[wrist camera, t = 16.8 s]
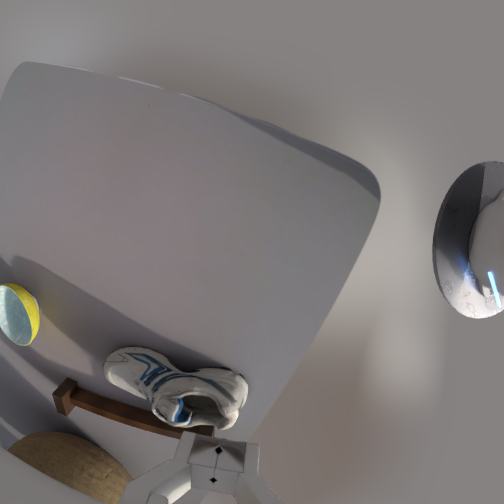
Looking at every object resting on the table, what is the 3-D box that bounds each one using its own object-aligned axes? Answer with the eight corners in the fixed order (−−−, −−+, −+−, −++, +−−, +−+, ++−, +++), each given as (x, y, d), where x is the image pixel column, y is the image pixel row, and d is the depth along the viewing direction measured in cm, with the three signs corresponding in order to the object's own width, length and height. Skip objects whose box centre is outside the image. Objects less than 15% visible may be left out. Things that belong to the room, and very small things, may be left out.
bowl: (16, 323, 47) (-2, 335, 41) (9, 269, 44) (-13, 279, 38) (55, 339, 47) (37, 354, 41) (48, 281, 44) (26, 293, 38)
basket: (42, 453, 59) (0, 499, 34) (46, 380, 53) (-22, 436, 28) (144, 515, 59) (117, 575, 34) (181, 464, 53) (146, 552, 28)
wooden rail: (215, 420, 48) (209, 444, 42) (213, 437, 49) (208, 460, 43) (67, 377, 49) (51, 393, 43) (71, 395, 50) (57, 412, 44)
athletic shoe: (107, 338, 45) (78, 392, 34) (248, 350, 44) (243, 417, 33) (123, 378, 49) (102, 429, 39) (249, 390, 48) (244, 451, 38)
